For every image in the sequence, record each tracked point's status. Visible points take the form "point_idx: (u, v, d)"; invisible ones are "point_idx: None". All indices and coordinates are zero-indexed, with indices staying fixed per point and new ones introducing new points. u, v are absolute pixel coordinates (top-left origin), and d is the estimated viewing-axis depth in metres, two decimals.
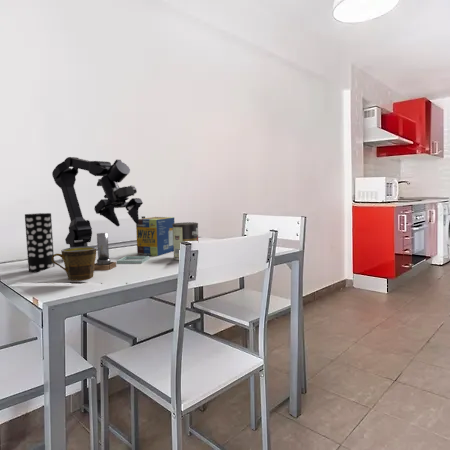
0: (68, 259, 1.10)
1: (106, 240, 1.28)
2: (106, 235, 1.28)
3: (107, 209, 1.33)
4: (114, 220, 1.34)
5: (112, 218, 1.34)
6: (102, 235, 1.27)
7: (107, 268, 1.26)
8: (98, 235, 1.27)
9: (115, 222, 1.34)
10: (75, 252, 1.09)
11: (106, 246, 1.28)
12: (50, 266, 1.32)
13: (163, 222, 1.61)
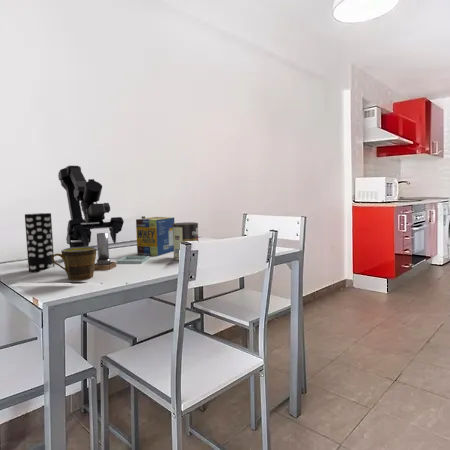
0: (68, 259, 1.10)
1: (106, 240, 1.28)
2: (106, 235, 1.28)
3: (76, 229, 1.28)
4: (84, 240, 1.27)
5: (82, 238, 1.28)
6: (102, 235, 1.27)
7: (107, 268, 1.26)
8: (98, 235, 1.27)
9: (85, 242, 1.27)
10: (75, 252, 1.09)
11: (106, 246, 1.28)
12: (50, 266, 1.32)
13: (163, 222, 1.61)
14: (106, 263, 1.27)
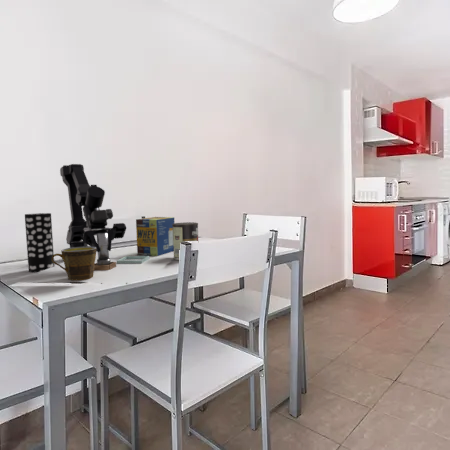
0: (68, 259, 1.10)
1: (106, 240, 1.28)
2: (106, 235, 1.28)
3: (87, 235, 1.28)
4: (94, 246, 1.27)
5: (92, 244, 1.28)
6: (102, 235, 1.26)
7: (107, 268, 1.26)
8: (98, 235, 1.27)
9: None
10: (74, 252, 1.09)
11: (106, 246, 1.28)
12: (50, 266, 1.32)
13: (163, 222, 1.61)
14: (106, 263, 1.27)
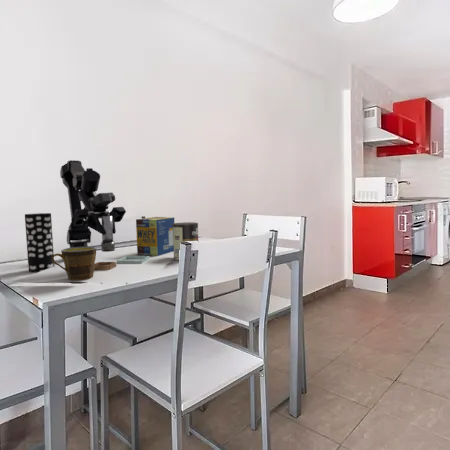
0: (68, 259, 1.10)
1: (111, 223, 1.29)
2: (111, 218, 1.29)
3: (91, 218, 1.27)
4: (99, 229, 1.28)
5: (97, 227, 1.28)
6: (108, 218, 1.28)
7: (107, 268, 1.26)
8: (104, 218, 1.28)
9: (101, 231, 1.28)
10: (75, 252, 1.09)
11: (111, 229, 1.29)
12: (50, 266, 1.32)
13: (163, 222, 1.61)
14: (112, 245, 1.29)
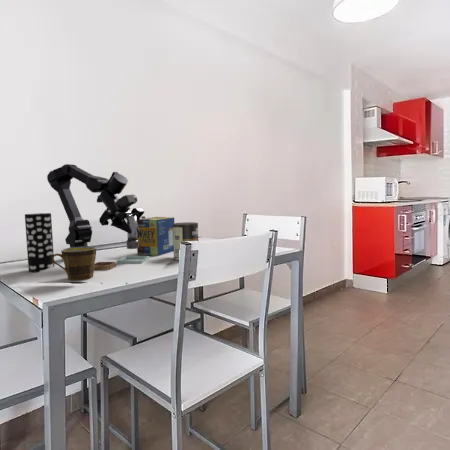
0: (68, 259, 1.10)
1: (136, 222, 1.40)
2: (136, 218, 1.40)
3: (117, 218, 1.37)
4: (126, 228, 1.38)
5: (123, 226, 1.38)
6: (134, 217, 1.39)
7: (107, 268, 1.26)
8: (130, 217, 1.38)
9: (127, 230, 1.38)
10: (74, 252, 1.09)
11: (136, 228, 1.40)
12: (50, 266, 1.32)
13: (163, 222, 1.61)
14: (137, 243, 1.40)
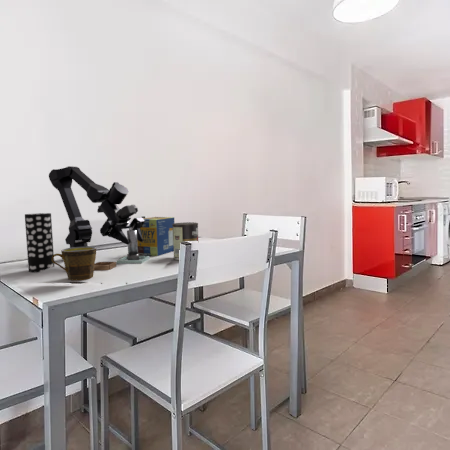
0: (68, 259, 1.10)
1: (136, 236, 1.40)
2: (136, 232, 1.40)
3: (115, 229, 1.36)
4: (123, 239, 1.37)
5: (121, 237, 1.37)
6: (134, 232, 1.39)
7: (107, 268, 1.26)
8: (130, 232, 1.38)
9: (124, 241, 1.37)
10: (74, 252, 1.09)
11: None
12: (50, 266, 1.32)
13: (163, 222, 1.61)
14: (138, 257, 1.40)
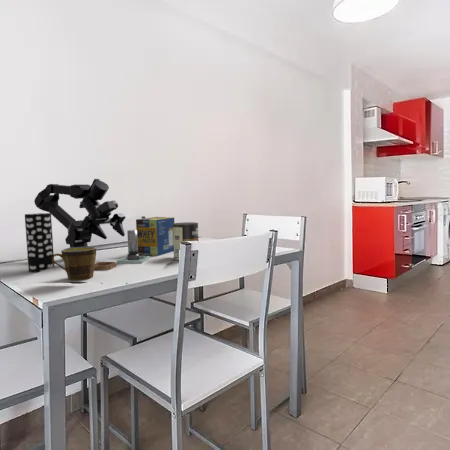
0: (68, 259, 1.10)
1: (137, 237, 1.41)
2: None
3: (93, 224, 1.41)
4: (101, 234, 1.41)
5: (99, 232, 1.41)
6: (134, 232, 1.39)
7: (107, 268, 1.26)
8: (130, 232, 1.39)
9: (102, 235, 1.41)
10: (74, 252, 1.09)
11: (137, 242, 1.41)
12: (50, 266, 1.32)
13: (163, 222, 1.61)
14: (138, 257, 1.40)
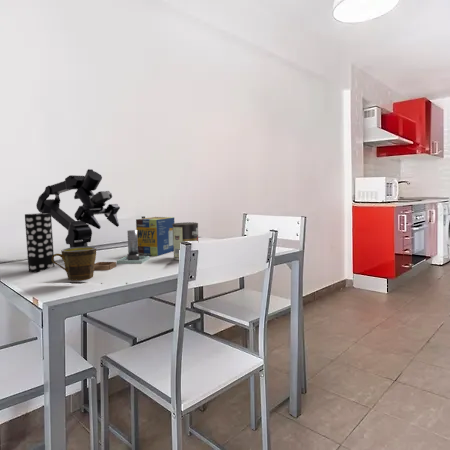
0: (68, 259, 1.10)
1: (137, 236, 1.41)
2: None
3: (87, 214, 1.41)
4: (95, 223, 1.42)
5: (93, 222, 1.42)
6: (134, 232, 1.39)
7: (107, 268, 1.26)
8: (131, 232, 1.39)
9: (96, 225, 1.42)
10: (74, 252, 1.09)
11: (137, 242, 1.41)
12: (50, 266, 1.32)
13: (163, 222, 1.61)
14: (138, 257, 1.40)
